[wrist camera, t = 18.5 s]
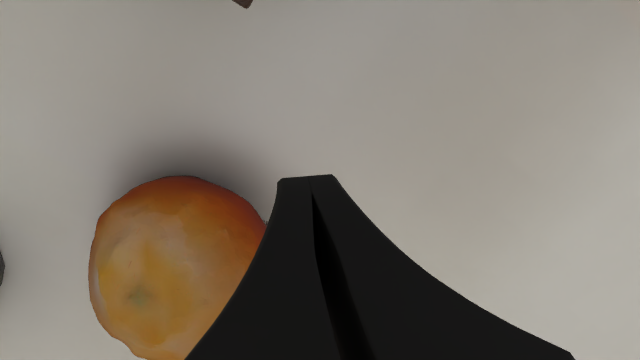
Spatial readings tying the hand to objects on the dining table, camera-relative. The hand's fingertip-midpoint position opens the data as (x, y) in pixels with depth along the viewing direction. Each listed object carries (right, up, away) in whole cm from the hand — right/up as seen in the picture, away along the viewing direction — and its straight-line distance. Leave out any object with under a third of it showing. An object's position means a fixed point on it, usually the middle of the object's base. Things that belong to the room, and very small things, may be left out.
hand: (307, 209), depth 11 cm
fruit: (-6, -1, +11) cm, 13 cm away
